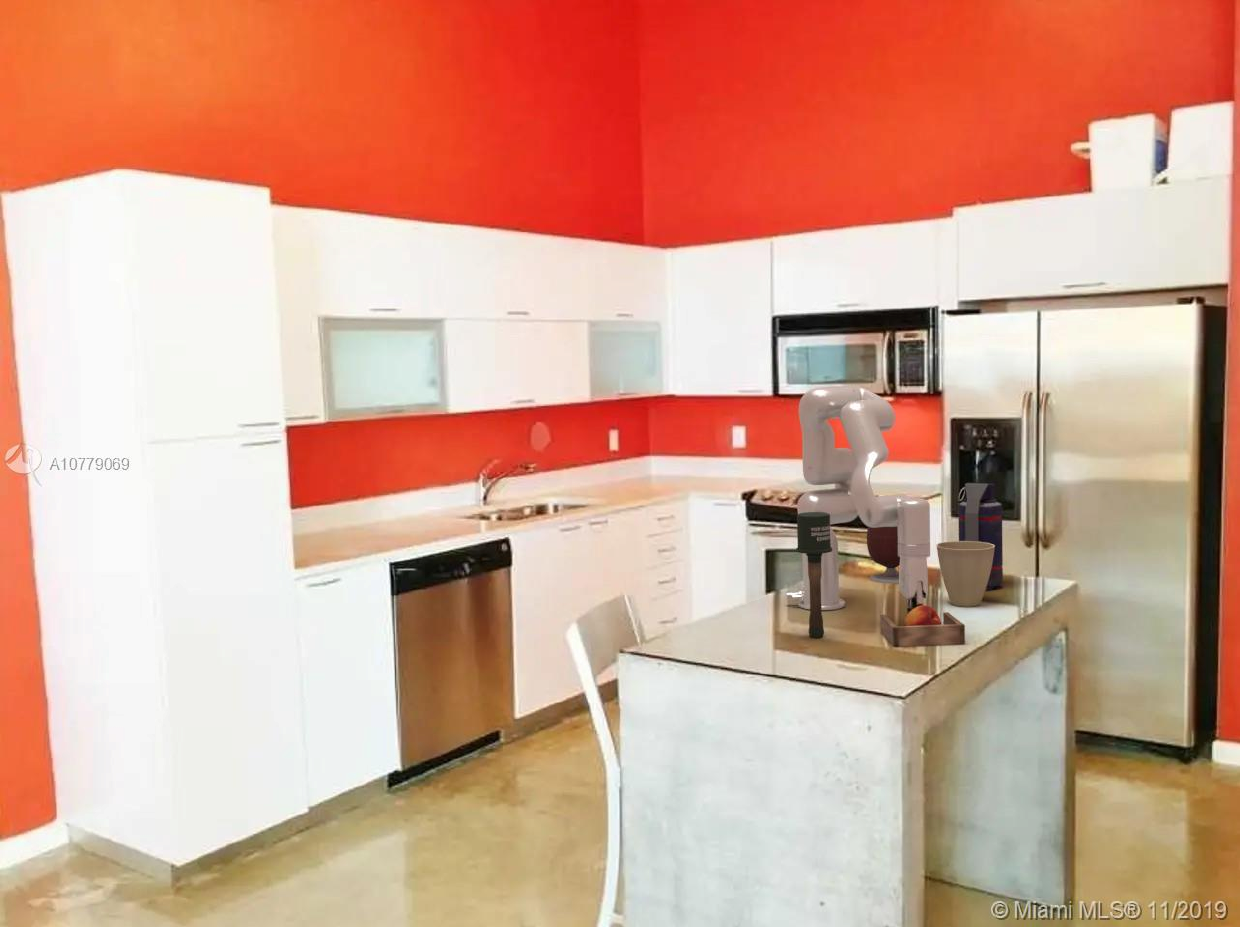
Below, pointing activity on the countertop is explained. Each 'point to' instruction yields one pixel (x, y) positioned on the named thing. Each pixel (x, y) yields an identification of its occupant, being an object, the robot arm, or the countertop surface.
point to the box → (924, 633)
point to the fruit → (922, 616)
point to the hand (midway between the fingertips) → (914, 624)
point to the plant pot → (965, 570)
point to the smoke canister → (983, 524)
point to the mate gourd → (884, 552)
